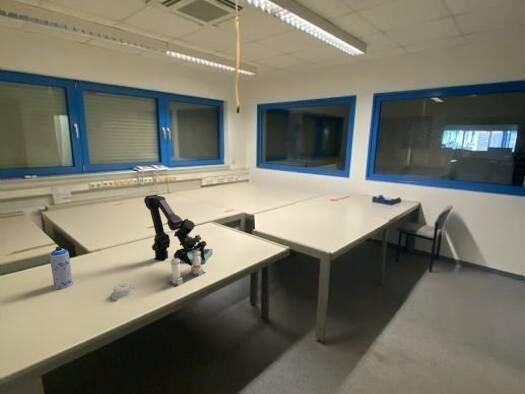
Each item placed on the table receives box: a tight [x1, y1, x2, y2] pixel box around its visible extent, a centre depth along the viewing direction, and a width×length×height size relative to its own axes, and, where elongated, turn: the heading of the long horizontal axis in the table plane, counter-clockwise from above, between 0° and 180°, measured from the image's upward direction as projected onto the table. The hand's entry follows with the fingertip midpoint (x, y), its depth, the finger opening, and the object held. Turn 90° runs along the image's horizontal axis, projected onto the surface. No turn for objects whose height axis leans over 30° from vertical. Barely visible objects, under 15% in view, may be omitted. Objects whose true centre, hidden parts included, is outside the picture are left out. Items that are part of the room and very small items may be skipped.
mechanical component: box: [110, 282, 135, 301], centre depth 132 cm, size 10×4×10 cm
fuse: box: [170, 258, 182, 284], centre depth 141 cm, size 4×4×12 cm
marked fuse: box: [192, 251, 202, 275], centre depth 151 cm, size 4×4×12 cm
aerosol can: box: [49, 245, 74, 290], centre depth 138 cm, size 8×8×20 cm
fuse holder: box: [166, 265, 207, 288], centre depth 147 cm, size 7×20×4 cm, turn 142°
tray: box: [178, 248, 213, 264], centre depth 172 cm, size 18×16×4 cm
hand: (198, 263), depth 150 cm, fingers open, 8 cm apart
